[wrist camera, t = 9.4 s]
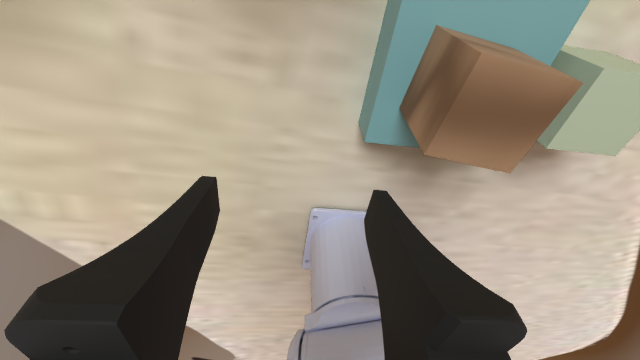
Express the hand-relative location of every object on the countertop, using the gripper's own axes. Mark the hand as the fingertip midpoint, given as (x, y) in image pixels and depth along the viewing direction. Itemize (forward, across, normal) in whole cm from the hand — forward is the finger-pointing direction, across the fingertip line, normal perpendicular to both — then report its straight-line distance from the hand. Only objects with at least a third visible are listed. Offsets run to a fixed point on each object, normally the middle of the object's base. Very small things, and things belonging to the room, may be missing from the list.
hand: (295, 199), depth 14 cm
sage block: (+10, -18, -4) cm, 21 cm away
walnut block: (+7, -9, -4) cm, 12 cm away
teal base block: (+11, -10, -4) cm, 15 cm away
